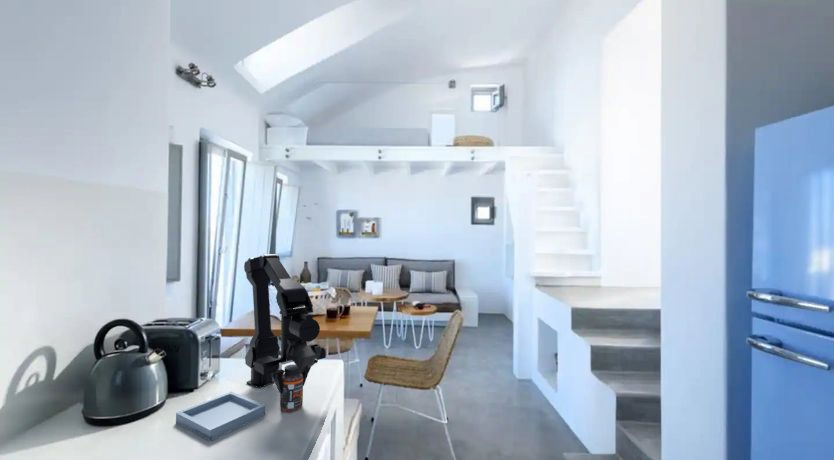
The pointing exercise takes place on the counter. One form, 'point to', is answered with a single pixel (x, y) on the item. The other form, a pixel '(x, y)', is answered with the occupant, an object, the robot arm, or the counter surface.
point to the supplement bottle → (292, 389)
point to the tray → (220, 415)
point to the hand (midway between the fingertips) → (291, 389)
